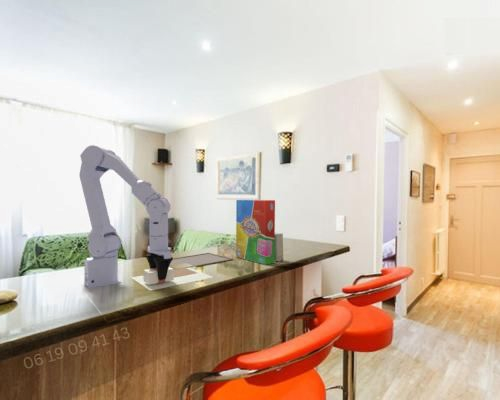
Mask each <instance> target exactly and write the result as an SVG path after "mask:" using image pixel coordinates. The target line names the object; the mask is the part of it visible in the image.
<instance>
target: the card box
mask: <svg viewBox="0 0 500 400" xmlns="http://www.w3.org/2000/svg"><path fill="white" fill-rule="evenodd" d="M170 267H171V266H170ZM170 267H169V268H168V272H167V276H166V279H163V280H159V279H158V274H157V268H152V269H150V268H148V269H143V273H142V274H143V275H142V276H143V281H144V282H146V283H147V284H149V285H151V284H156V283H161V282H166V281H171V280H174V270H175V269H173V268H174V267H173V268H170Z"/></svg>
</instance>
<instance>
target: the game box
mask: <svg viewBox="0 0 500 400" xmlns="http://www.w3.org/2000/svg"><path fill="white" fill-rule="evenodd" d="M235 204H236V205H235V206H236V209H235V210H236V211H235V213H236V215H235V216H236V217H235V219H236V222H235V223H236V225H235V226H236V227H235V229H236V230H235V232H236V233H235V235H236V236H235V237H236V238H235V247H236V249H235V257H236V258H239V259H242V260H245V261H249V262H253V263H257V264H260V263H261V265H264V264H265V265H264V266H267V264H268V265H272V264H271V263H273V264H275V262H276V261H275V233H276V232H275V230H276V224H275V223H276V200H275V199H266V200H264V199H263V200H261V199H236V202H235Z"/></svg>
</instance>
